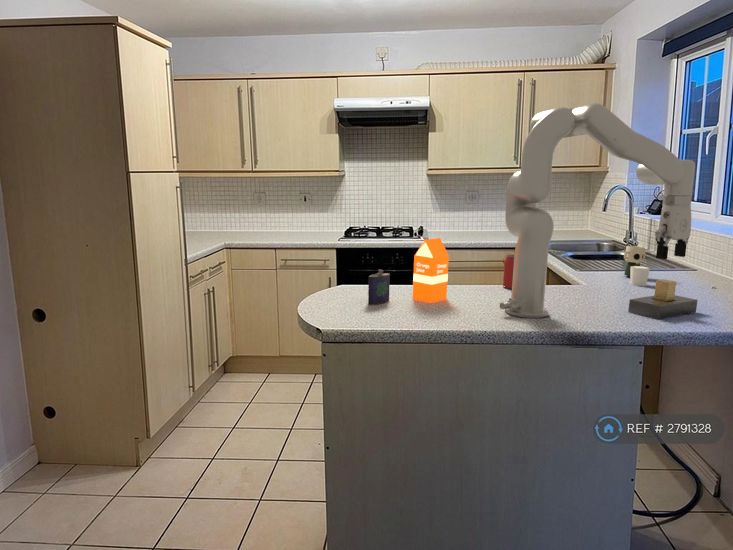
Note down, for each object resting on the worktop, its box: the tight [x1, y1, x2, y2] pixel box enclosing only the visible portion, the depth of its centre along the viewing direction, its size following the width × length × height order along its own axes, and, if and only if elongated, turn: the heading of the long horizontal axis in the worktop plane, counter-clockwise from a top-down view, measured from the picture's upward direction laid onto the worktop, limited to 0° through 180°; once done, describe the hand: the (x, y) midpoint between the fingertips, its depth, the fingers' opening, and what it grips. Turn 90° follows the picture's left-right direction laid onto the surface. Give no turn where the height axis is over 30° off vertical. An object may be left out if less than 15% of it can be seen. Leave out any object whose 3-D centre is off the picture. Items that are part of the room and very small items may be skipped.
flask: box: [367, 269, 391, 306], centre depth 173 cm, size 9×3×11 cm, turn 138°
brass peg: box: [653, 278, 677, 302], centre depth 171 cm, size 4×4×10 cm
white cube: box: [629, 265, 651, 287], centre depth 216 cm, size 7×7×7 cm
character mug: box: [623, 245, 647, 278], centre depth 231 cm, size 11×7×13 cm, turn 108°
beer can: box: [502, 254, 514, 290], centre depth 203 cm, size 7×7×12 cm
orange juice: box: [412, 237, 450, 304], centre depth 179 cm, size 8×9×20 cm
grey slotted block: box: [627, 295, 698, 320], centre depth 171 cm, size 20×10×4 cm, turn 121°
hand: (670, 257), depth 169 cm, fingers open, 9 cm apart
